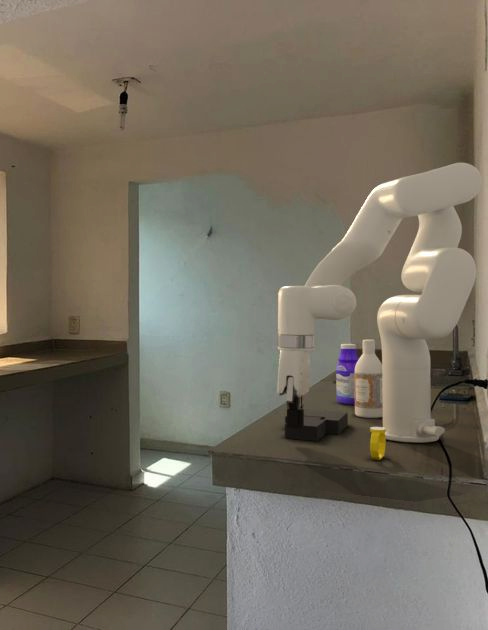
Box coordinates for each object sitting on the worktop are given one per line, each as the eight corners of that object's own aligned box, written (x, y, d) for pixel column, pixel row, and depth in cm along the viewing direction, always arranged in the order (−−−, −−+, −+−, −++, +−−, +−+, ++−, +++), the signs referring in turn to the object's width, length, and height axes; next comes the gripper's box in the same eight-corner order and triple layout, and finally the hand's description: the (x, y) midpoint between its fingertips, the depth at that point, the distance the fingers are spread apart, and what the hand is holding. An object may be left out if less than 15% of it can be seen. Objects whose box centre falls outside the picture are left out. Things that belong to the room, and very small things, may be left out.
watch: (374, 454, 130) (374, 424, 130) (389, 456, 128) (389, 426, 128) (366, 460, 125) (366, 429, 125) (381, 462, 123) (381, 431, 123)
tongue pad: (328, 431, 152) (328, 417, 152) (317, 441, 143) (317, 426, 143) (297, 428, 156) (297, 415, 156) (284, 438, 146) (284, 423, 146)
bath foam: (349, 415, 171) (348, 340, 171) (365, 412, 175) (364, 338, 175) (373, 419, 166) (372, 341, 165) (389, 416, 169) (389, 339, 169)
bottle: (332, 402, 193) (331, 343, 193) (348, 401, 195) (347, 343, 194) (349, 406, 186) (349, 345, 186) (366, 404, 188) (365, 344, 188)
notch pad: (347, 425, 159) (347, 412, 159) (338, 434, 149) (338, 420, 149) (297, 421, 166) (297, 408, 166) (285, 429, 156) (284, 416, 155)
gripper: (287, 340, 149) (286, 420, 149) (268, 344, 137) (268, 431, 137) (321, 341, 145) (320, 423, 145) (306, 345, 132) (305, 435, 133)
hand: (295, 427), depth 141 cm, fingers closed
